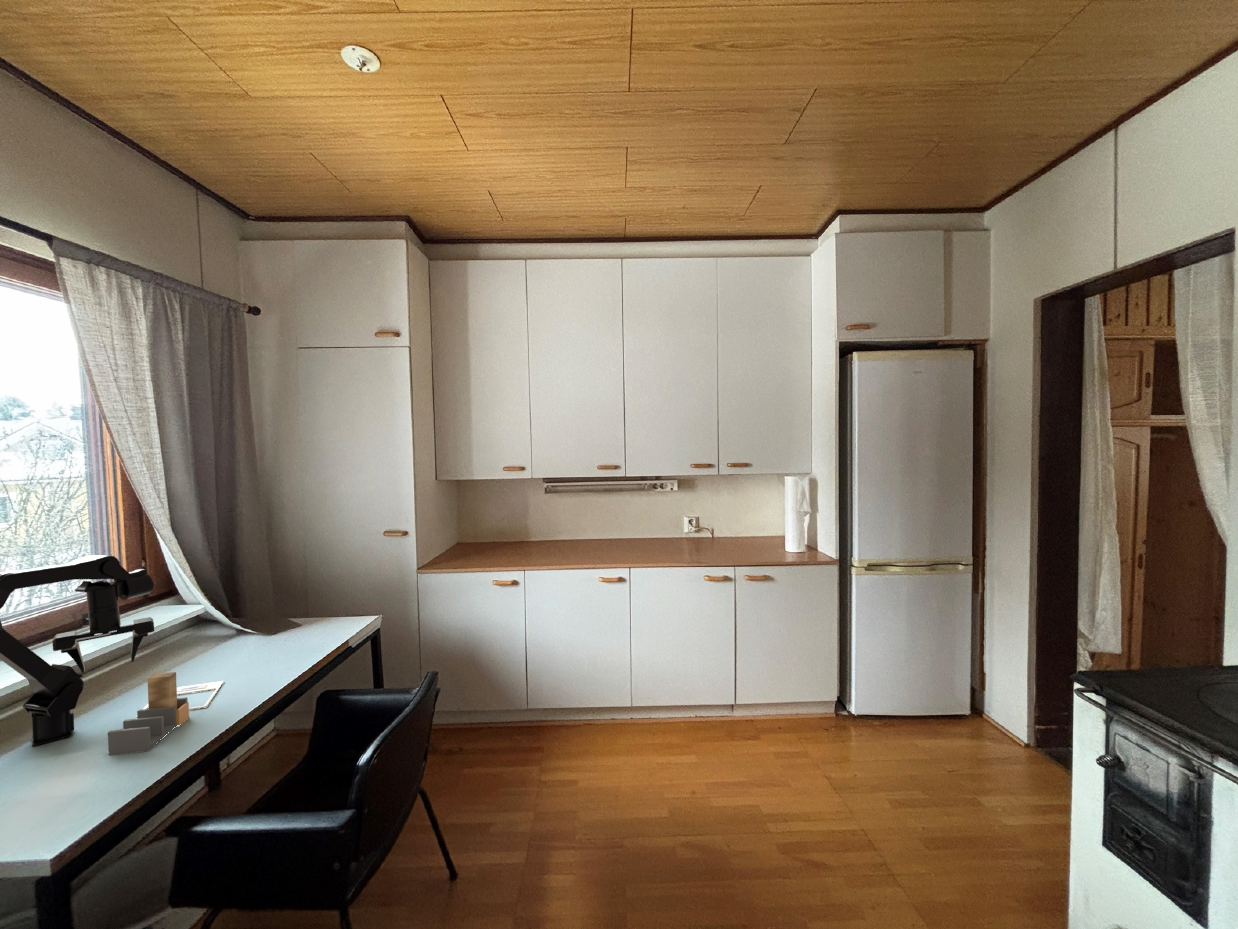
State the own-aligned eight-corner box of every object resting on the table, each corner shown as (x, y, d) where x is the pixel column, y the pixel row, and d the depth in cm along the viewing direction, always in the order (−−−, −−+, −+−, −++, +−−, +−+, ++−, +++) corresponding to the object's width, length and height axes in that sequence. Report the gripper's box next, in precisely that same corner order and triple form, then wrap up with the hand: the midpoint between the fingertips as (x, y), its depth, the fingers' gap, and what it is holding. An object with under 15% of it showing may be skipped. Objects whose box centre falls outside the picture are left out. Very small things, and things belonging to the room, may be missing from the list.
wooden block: (149, 724, 137) (147, 678, 137) (156, 718, 140) (154, 673, 140) (170, 722, 138) (169, 676, 138) (177, 716, 141) (176, 672, 141)
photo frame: (224, 680, 165) (206, 705, 148) (224, 684, 165) (206, 709, 148) (161, 689, 159) (135, 716, 143) (161, 693, 159) (135, 720, 143)
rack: (108, 755, 125) (107, 732, 125) (152, 720, 142) (152, 700, 141) (152, 750, 127) (151, 728, 127) (190, 717, 143) (190, 697, 143)
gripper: (150, 591, 156) (154, 648, 157) (53, 607, 144) (59, 668, 145) (151, 599, 148) (156, 659, 149) (49, 617, 136) (55, 682, 137)
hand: (108, 666), depth 145 cm, fingers open, 9 cm apart
